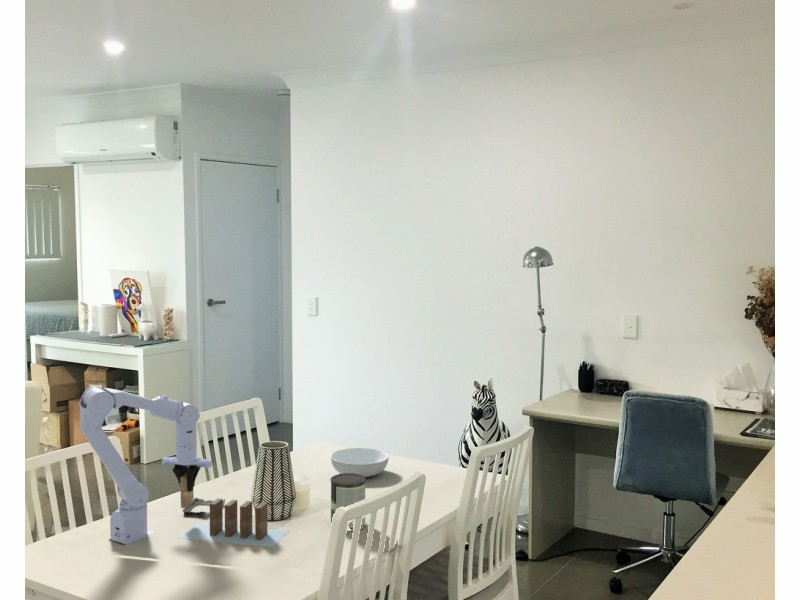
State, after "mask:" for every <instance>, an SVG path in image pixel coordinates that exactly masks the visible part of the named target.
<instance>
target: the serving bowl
mask: <svg viewBox="0 0 800 600" xmlns="http://www.w3.org/2000/svg"><path fill="white" fill-rule="evenodd" d="M389 459H390V457H389V454H388V453H387V452H386V451H384V450H380V449H377V448H370V447H351V448H344V449H339V450H336V451H333V452H332V453H331V454H330V461H331V464H332V467H333V469H335V471H336V472H338V473H339V474H344V473H353V474H360V475H362V476H364V477H365V478H368V477H373V476H376V475H378V474H380V473H382V472H383V471H384V470H385V469H386V467H387V465H388V462H389Z"/></svg>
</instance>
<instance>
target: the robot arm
mask: <svg viewBox="0 0 800 600" xmlns="http://www.w3.org/2000/svg"><path fill="white" fill-rule="evenodd" d="M78 404H79V429H80V432H81V433H82V434H83V437H85V439H86V440H87V442H88V443H89V444H90V446H91V447H92V449H93V450H94V452H95V453H96V455H97V456H98V458H99V460H100V461H101V462H102V464H103V466H104V467H105V469H106V470H107V471H108V473H109V474H110V476H111V477H112V479H113V482H114V484H115V485H116V487H117V494H118V497H120V498H121V500H120V502H119V507H118V508H117V509H116V510H115V511H113V512H112V513H111V515H110V520H109V521H110V524H109V525H110V528H109V529H110V536H108V540H110V541H114V542H116V543H119V544H120V543H121V544H124V545H128V544H131V543H133V542H136V541H138V540H141V539H143V538H146V537H149V536H151V535H153V534H155V532H153V531H150V530H148V501H149V500H150V490H149V489H148V488H147V487H146V486H144V485H143V484H142V483H140V482H139V480H138V479H137V478H136V477H135V475H134V474H133V473H132V472H131V470H130V469H129V467H128V466H127V464H126V462H125V461H124V459H123V458H122V457H121V455H120V453H119V452H118V451H117V449H116V447H115V446H114V445H113V443H112V442H111V440H110V438H109V437H108V435H107V434H106V432H105V431H104V430H103V429H104V428H102V427H103V423H104V421H105V419H106V418H107V417H108V415H109V414H110V412H111V411H112V410H113V409H115V410H117V409H119V408H121V407H123V406H126V407H130V408H137V409H140V410H146V411H149V413H150V415H151V416H152V417H156V418H159V419H164V420H168V421H173V422H176V423H175V425H176V426H175V427H176V429H175V438H176V439H175V441H176V443H175V445H176V446H175V448H176V449H175V450H176V452H175V455H176V456H172V457H169V456H165V457H162V458H161V465H162V466H174V467H173V468H172V473H174V475H175V477H176V478H177V481H178V484H179V488H180V489H181V484H180V477H182V476H183V475H185V474H186V475H187V487H188V492H191V491H192V490H194V486H195V482H196V479H197V476H198V474H199V472H200V470H201V468H205V469H210V468H211V467H213V466H212V461H213V460H212V459H207V458H206V459H205V458H202V457H198V451H197V450H198V449H197V447H198V446H197V445H198V443H197V441H198V440H197V439H198V437H197V432H198V431H197V430H198V429H197V423H198V421H199V419H200V415H201V414H200V413H199V410H198V408H197V407H196V406H195V405H192V404H191V403H189V402H186V401H184V400H181V399H179V400H174V399H171V398H169V396H167V395H164V394H162V396H156V397H154V398H152V399H151V398H148V397H145V396H142V395H138V394H134V393H130V392H127V391H124V390H119V389H114V388H108V387H103V388H101V387H99V386H95V385H94V386H90V387H88V388H86V389H85V391H84V392H83V393H82V395H81V398H80V399H79V402H78Z"/></svg>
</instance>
